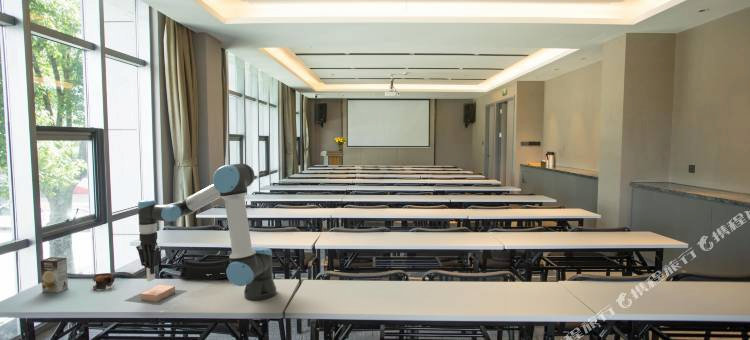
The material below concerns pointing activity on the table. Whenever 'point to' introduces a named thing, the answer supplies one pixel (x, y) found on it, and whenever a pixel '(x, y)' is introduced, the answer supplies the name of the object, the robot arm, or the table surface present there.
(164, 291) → the board
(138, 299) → the mat
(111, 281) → the pottery mug
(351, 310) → the table surface
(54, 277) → the coffee box
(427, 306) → the table surface
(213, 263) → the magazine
